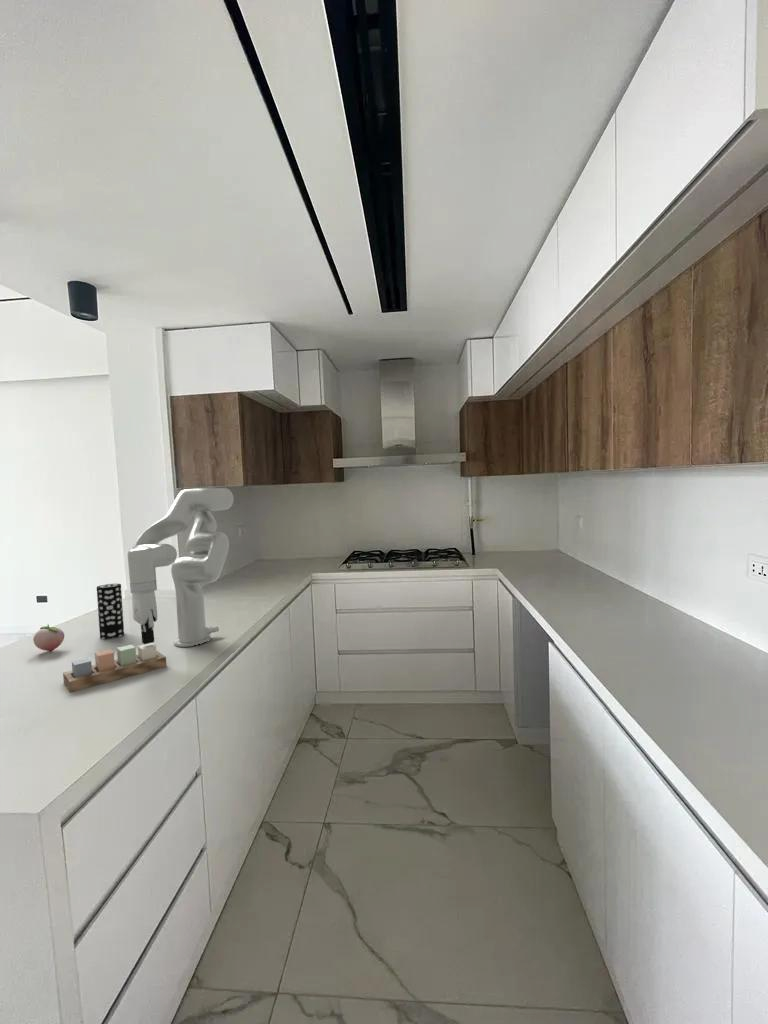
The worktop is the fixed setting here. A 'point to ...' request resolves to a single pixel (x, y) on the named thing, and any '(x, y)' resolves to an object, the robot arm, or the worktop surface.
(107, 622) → the spotted tube
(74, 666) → the grey block
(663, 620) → the worktop surface
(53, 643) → the decorative fruit
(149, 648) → the cream block
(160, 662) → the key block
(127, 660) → the key sage
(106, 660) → the key terracotta
